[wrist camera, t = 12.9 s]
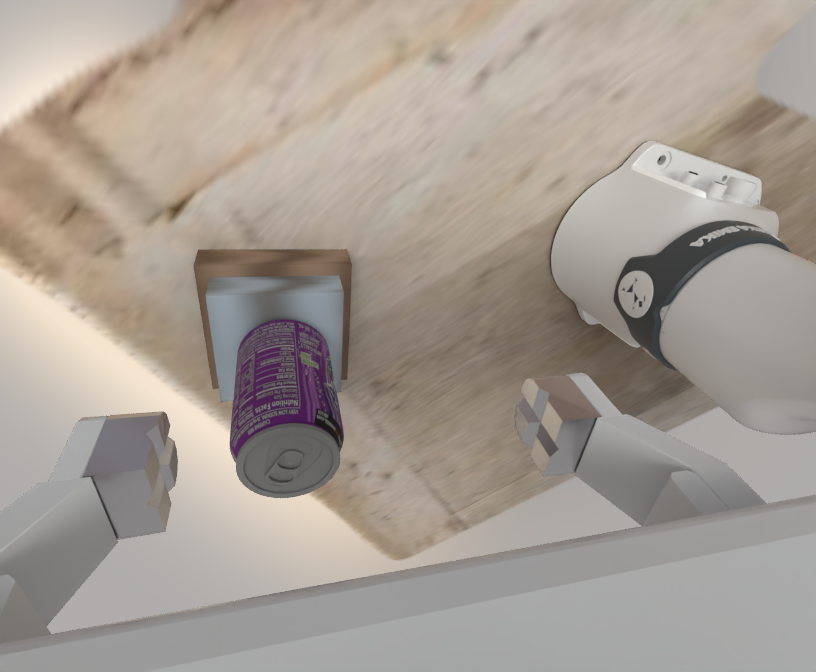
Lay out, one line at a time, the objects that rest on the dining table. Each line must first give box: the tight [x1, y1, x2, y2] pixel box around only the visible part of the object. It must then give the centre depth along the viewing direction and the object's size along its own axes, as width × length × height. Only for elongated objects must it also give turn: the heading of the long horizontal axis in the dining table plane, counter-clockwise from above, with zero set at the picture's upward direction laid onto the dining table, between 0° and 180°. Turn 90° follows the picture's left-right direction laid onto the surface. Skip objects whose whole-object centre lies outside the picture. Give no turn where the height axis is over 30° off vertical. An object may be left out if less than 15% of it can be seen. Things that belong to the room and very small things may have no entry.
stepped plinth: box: [194, 250, 352, 401], centre depth 41 cm, size 12×12×6 cm
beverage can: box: [230, 319, 344, 498], centre depth 34 cm, size 7×7×12 cm
